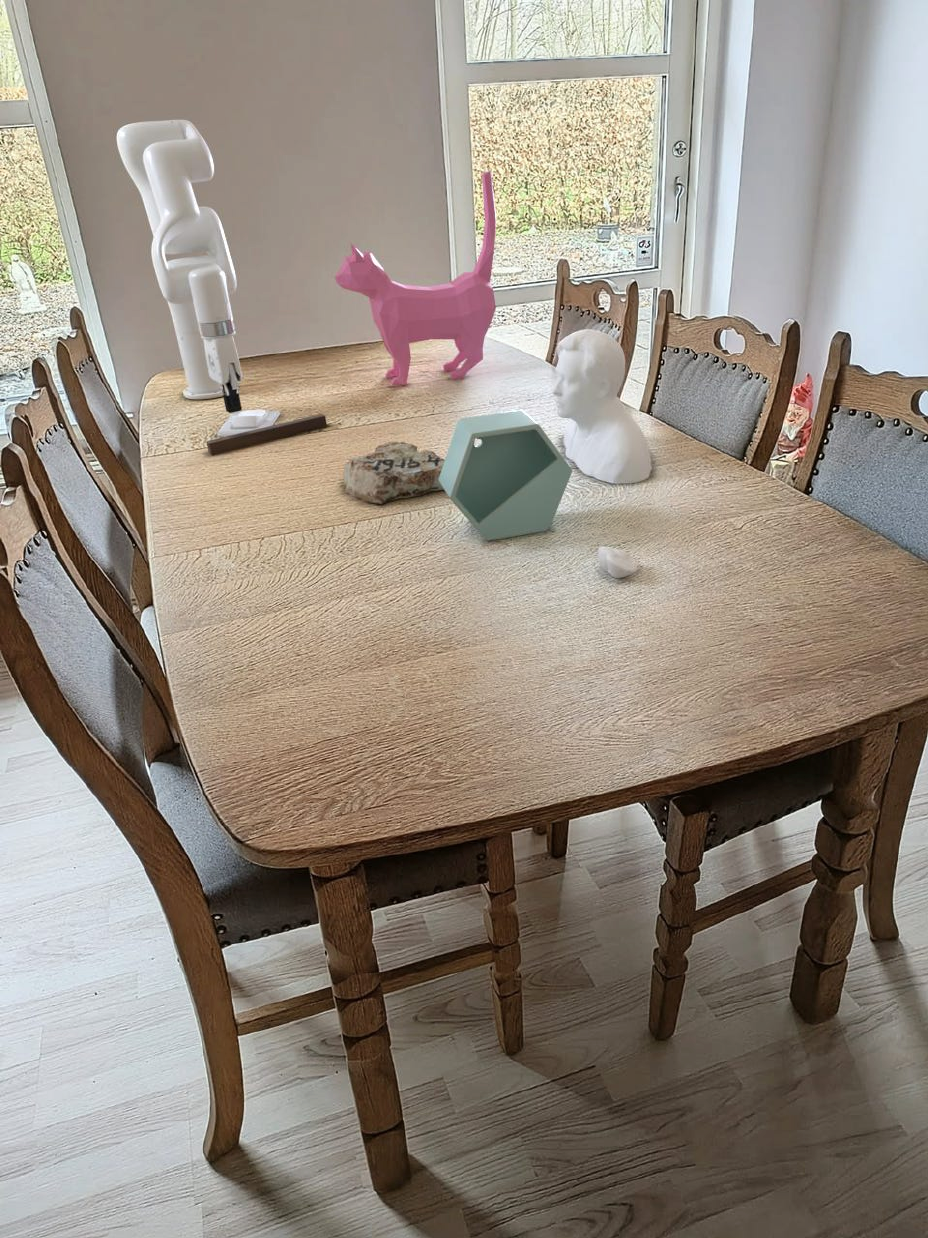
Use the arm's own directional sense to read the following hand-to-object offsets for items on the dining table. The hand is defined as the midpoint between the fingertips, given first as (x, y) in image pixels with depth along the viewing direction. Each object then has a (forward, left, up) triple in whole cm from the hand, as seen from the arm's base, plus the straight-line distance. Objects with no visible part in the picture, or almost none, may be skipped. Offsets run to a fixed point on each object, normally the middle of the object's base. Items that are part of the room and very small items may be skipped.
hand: (234, 410), depth 197 cm
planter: (+90, +13, -2) cm, 91 cm away
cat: (+4, +49, -2) cm, 49 cm away
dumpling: (+113, +16, -2) cm, 114 cm away
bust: (+76, +44, -2) cm, 88 cm away
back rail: (+21, 0, -1) cm, 21 cm away
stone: (+59, +9, -2) cm, 60 cm away
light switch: (+9, 0, -2) cm, 9 cm away
